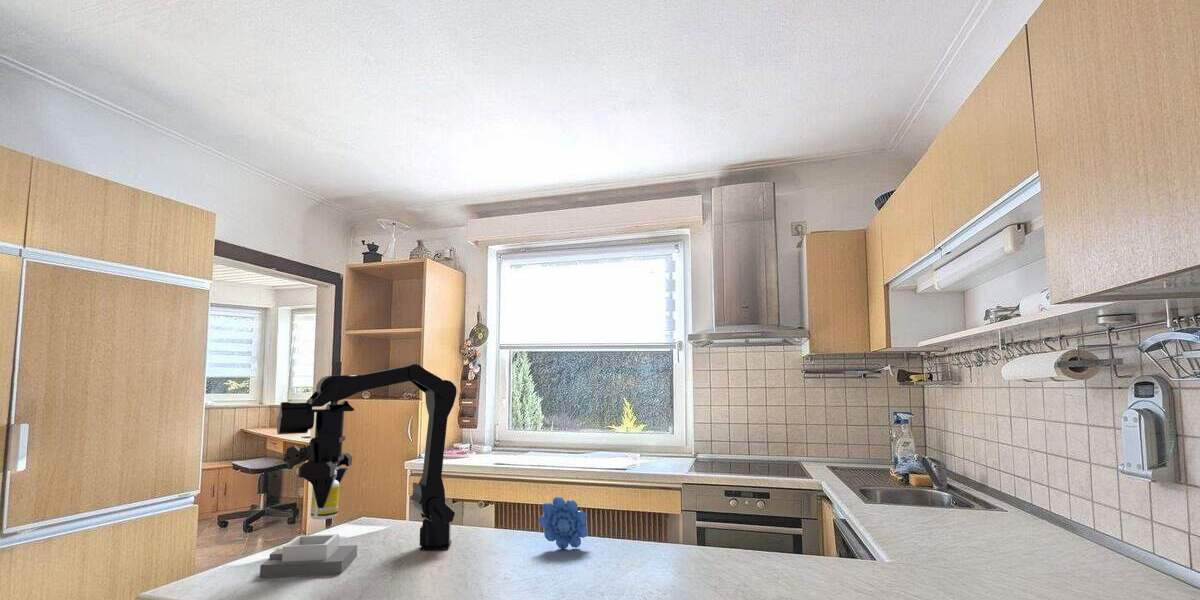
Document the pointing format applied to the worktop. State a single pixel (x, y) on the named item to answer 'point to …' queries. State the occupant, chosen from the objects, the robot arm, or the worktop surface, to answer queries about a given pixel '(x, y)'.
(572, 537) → the blue flower
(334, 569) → the stepped tray stack
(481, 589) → the worktop surface
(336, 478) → the robot arm
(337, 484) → the supplement bottle
